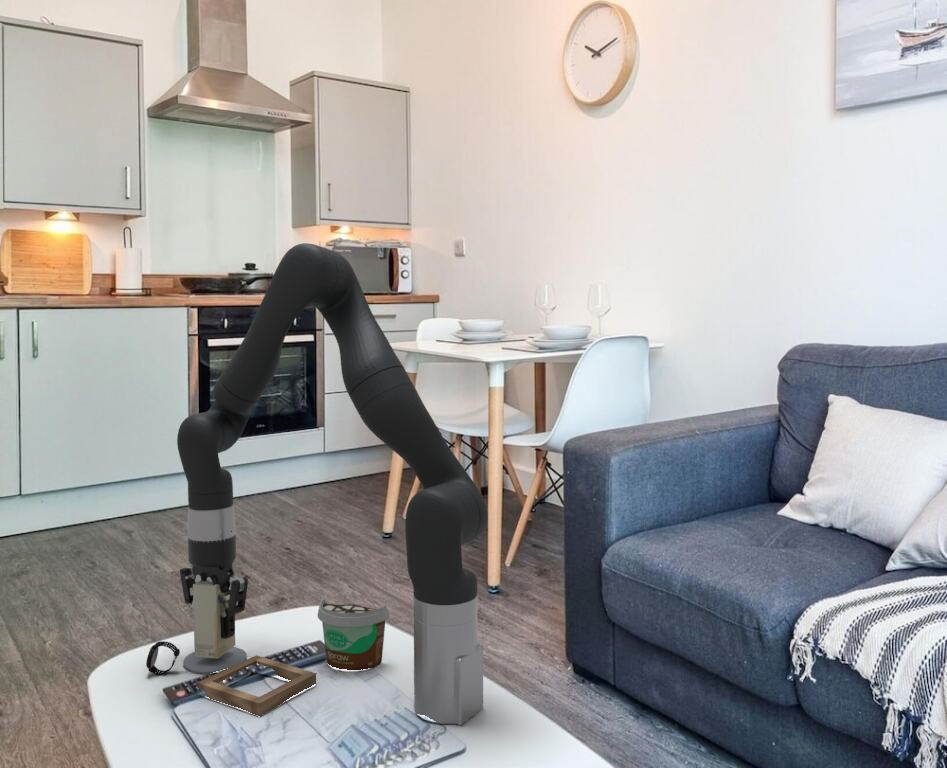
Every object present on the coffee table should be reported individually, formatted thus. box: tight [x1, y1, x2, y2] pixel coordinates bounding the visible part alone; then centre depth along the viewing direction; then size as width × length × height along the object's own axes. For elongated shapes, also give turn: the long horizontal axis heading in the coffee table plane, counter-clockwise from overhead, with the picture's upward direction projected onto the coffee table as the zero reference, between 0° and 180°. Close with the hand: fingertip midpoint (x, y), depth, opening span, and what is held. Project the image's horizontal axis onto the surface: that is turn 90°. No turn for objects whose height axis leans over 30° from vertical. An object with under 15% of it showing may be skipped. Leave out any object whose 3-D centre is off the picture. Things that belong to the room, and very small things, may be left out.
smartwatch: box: [145, 640, 181, 676], centre depth 137 cm, size 4×5×5 cm
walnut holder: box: [196, 654, 317, 717], centre depth 131 cm, size 13×12×2 cm
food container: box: [317, 597, 390, 670], centre depth 140 cm, size 12×6×10 cm, turn 73°
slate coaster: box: [183, 646, 247, 675], centre depth 142 cm, size 10×10×1 cm
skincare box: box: [192, 581, 236, 659], centre depth 141 cm, size 6×4×12 cm
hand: (215, 633), depth 142 cm, fingers closed on skincare box, 5 cm apart
